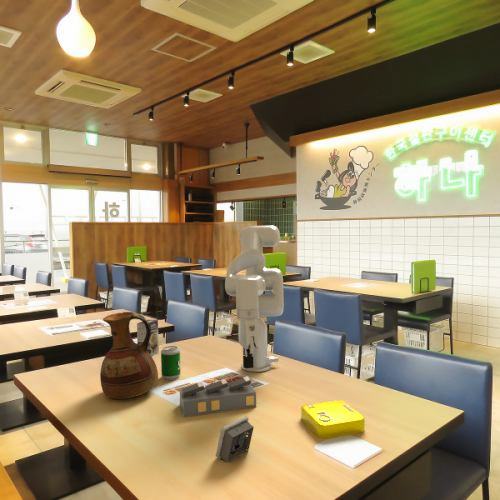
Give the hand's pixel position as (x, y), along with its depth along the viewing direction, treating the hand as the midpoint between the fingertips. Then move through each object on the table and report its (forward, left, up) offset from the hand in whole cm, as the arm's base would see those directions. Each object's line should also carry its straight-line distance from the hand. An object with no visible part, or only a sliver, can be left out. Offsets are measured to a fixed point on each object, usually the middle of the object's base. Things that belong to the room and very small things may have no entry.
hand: (248, 367), depth 144 cm
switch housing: (+11, -1, -12) cm, 16 cm away
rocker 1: (+19, -1, -6) cm, 20 cm away
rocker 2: (+11, -1, -6) cm, 12 cm away
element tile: (-19, +24, -13) cm, 33 cm away
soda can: (+23, -34, -12) cm, 42 cm away
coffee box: (+30, -69, -12) cm, 76 cm away
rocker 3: (+3, -1, -6) cm, 7 cm away
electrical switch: (+13, +31, -12) cm, 36 cm away
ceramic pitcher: (+39, -22, -12) cm, 46 cm away
